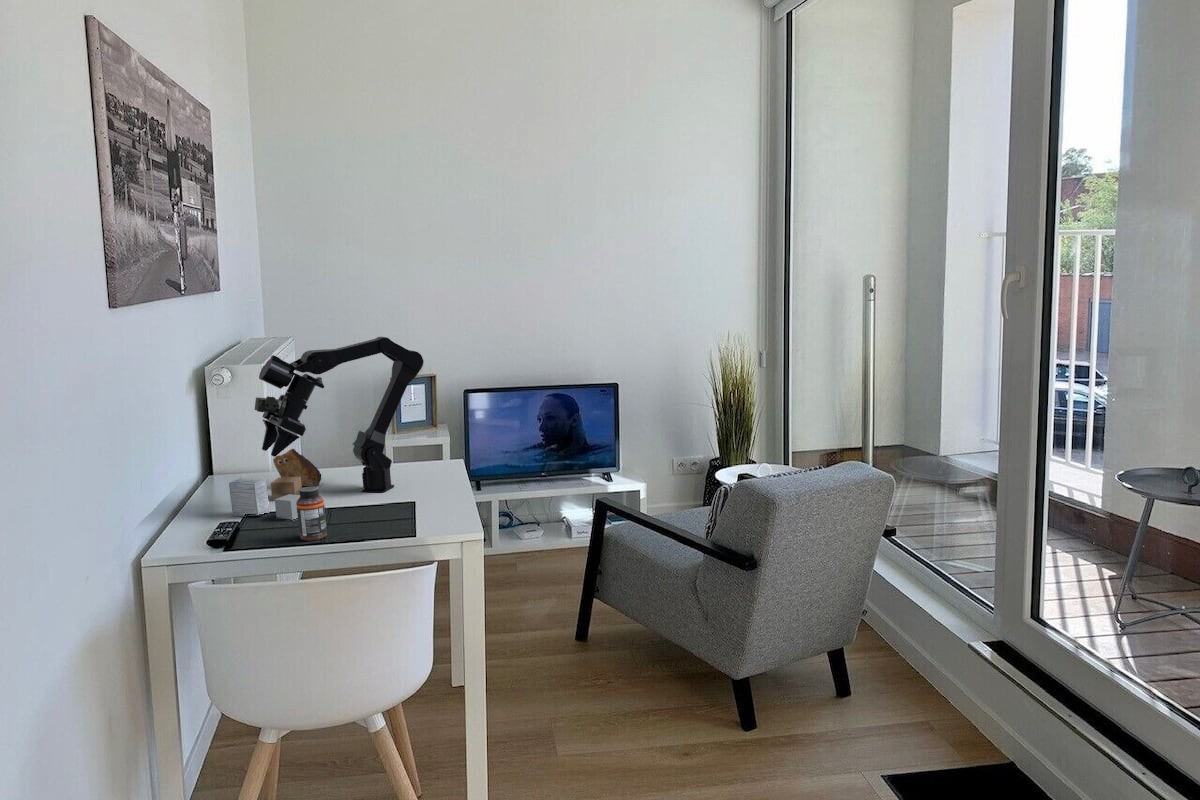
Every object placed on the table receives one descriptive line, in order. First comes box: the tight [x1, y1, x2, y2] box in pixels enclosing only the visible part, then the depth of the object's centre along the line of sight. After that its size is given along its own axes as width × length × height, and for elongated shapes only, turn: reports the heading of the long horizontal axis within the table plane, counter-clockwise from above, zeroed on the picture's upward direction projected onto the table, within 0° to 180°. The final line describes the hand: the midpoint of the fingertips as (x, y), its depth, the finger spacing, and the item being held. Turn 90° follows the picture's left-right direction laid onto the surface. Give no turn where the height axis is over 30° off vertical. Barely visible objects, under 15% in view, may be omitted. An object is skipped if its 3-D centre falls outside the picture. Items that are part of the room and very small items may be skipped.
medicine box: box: [228, 477, 271, 517], centre depth 241 cm, size 8×4×9 cm, turn 71°
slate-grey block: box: [274, 494, 300, 521], centre depth 237 cm, size 5×5×5 cm
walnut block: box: [270, 476, 303, 502], centre depth 257 cm, size 6×6×5 cm
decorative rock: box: [272, 448, 322, 487], centre depth 269 cm, size 12×6×11 cm, turn 95°
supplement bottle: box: [296, 486, 328, 542], centre depth 219 cm, size 6×6×11 cm
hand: (268, 453), depth 245 cm, fingers open, 9 cm apart
